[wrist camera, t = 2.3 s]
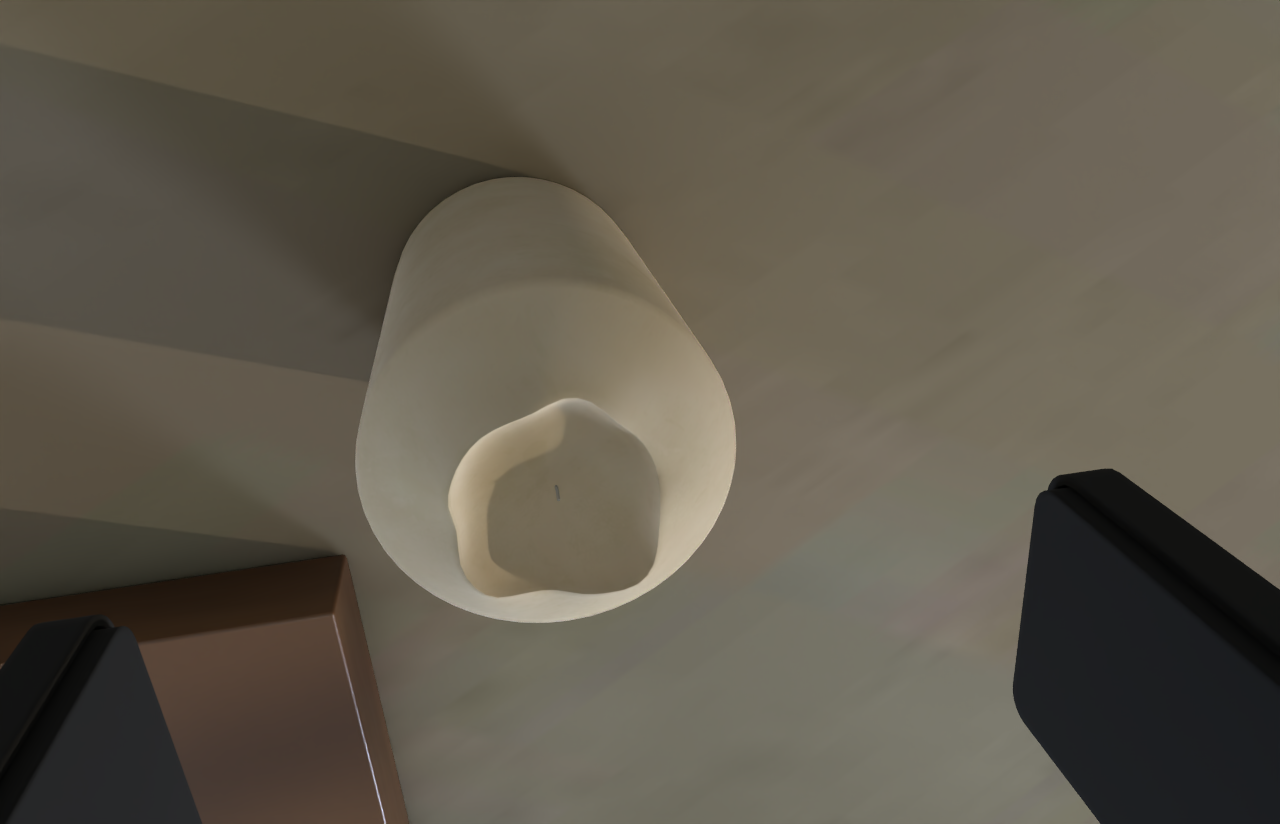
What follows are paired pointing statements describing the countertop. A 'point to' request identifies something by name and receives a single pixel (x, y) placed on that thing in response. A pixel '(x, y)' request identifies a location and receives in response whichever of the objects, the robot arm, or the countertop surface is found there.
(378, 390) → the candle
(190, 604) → the serving board
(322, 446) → the countertop surface
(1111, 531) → the robot arm
